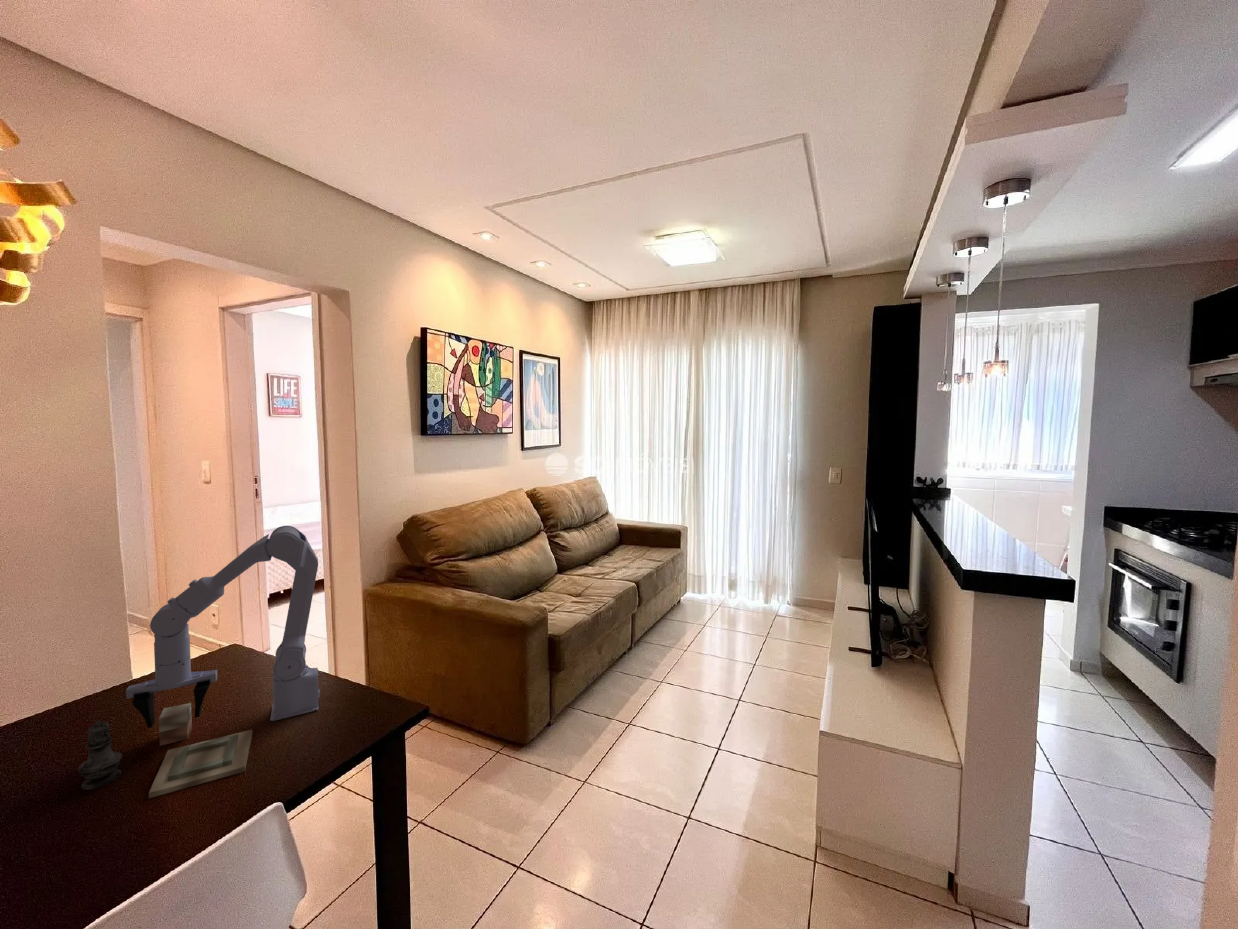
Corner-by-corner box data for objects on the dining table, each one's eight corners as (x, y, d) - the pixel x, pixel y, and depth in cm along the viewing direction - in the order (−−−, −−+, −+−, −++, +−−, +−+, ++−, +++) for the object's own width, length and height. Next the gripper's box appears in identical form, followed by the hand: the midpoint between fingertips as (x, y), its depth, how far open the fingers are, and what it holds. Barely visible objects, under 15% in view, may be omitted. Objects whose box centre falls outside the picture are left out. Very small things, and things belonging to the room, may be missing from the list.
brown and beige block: (192, 728, 110) (191, 702, 109) (187, 739, 106) (186, 712, 106) (165, 734, 107) (164, 708, 107) (159, 746, 104) (158, 718, 103)
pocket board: (252, 733, 108) (252, 725, 108) (245, 771, 96) (244, 762, 96) (168, 754, 101) (167, 746, 101) (148, 798, 89) (148, 789, 89)
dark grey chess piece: (94, 793, 90) (90, 730, 89) (69, 788, 91) (66, 726, 90) (131, 771, 96) (128, 712, 95) (108, 767, 97) (105, 708, 96)
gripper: (218, 645, 113) (220, 702, 114) (132, 659, 105) (135, 720, 106) (213, 657, 107) (215, 717, 108) (121, 673, 99) (124, 738, 100)
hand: (175, 720), depth 106 cm, fingers open, 7 cm apart
